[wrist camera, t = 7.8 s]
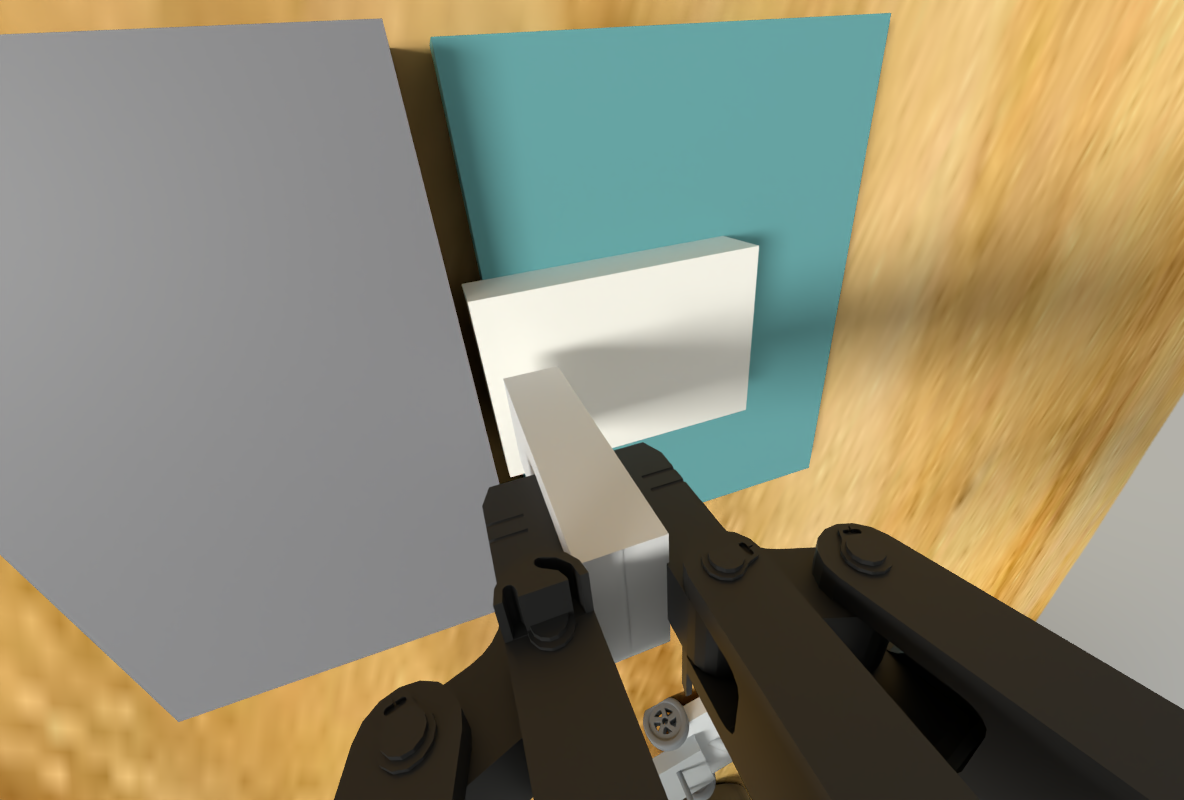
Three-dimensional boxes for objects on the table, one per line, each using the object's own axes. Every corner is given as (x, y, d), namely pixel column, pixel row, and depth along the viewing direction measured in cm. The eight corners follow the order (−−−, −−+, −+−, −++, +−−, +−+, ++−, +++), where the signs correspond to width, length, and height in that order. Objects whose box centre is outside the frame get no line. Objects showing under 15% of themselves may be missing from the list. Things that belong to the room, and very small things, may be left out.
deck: (515, 545, 21) (528, 599, 18) (211, 642, 18) (178, 721, 15) (389, 47, 12) (381, 18, 9) (-264, 83, 9) (-532, 56, 6)
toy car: (707, 959, 29) (667, 932, 23) (643, 784, 38) (601, 728, 31) (935, 810, 31) (955, 747, 25) (827, 674, 40) (822, 601, 33)
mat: (795, 456, 24) (808, 467, 23) (536, 538, 21) (541, 554, 20) (864, 20, 15) (891, 12, 14) (429, 44, 12) (430, 36, 11)
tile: (716, 386, 19) (746, 409, 17) (501, 445, 17) (510, 477, 15) (723, 235, 16) (759, 245, 14) (461, 284, 14) (467, 301, 12)
